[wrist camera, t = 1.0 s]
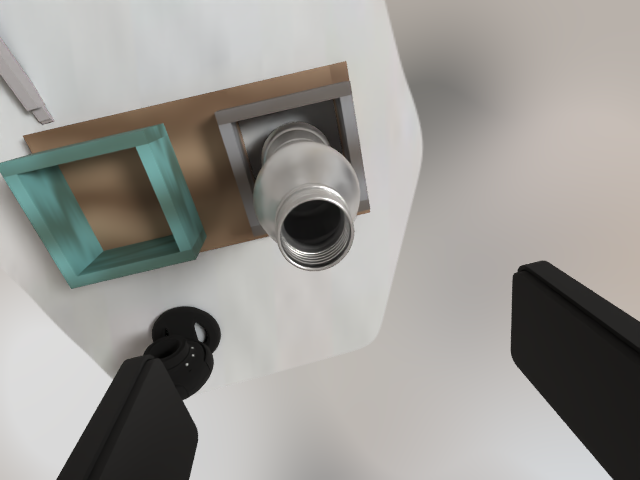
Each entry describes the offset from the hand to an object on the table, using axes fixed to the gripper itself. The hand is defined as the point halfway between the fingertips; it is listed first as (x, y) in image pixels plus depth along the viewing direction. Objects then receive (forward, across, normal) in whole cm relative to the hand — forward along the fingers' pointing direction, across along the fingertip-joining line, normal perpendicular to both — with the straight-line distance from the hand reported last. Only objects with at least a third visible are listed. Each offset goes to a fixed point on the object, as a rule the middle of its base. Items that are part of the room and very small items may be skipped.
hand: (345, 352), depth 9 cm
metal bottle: (+28, 0, 0) cm, 28 cm away
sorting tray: (+27, +8, 0) cm, 28 cm away
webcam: (+28, +17, +17) cm, 37 cm away
